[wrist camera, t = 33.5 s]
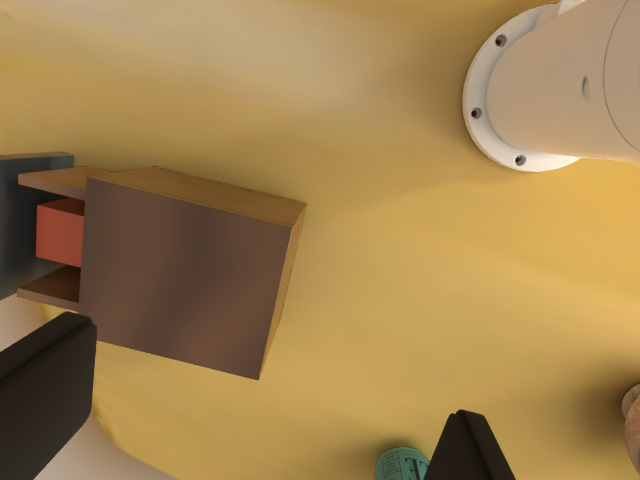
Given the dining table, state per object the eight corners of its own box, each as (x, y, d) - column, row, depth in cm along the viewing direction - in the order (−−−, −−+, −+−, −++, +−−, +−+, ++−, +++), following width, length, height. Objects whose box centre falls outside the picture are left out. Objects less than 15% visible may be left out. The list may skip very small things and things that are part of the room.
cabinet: (141, 287, 38) (76, 335, 29) (154, 165, 35) (85, 176, 26) (279, 321, 38) (258, 380, 29) (307, 203, 35) (292, 228, 26)
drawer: (9, 253, 37) (-76, 283, 30) (9, 138, 34) (-86, 139, 27) (188, 298, 37) (148, 339, 30) (204, 187, 34) (165, 201, 27)
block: (76, 195, 34) (36, 204, 30) (123, 207, 34) (91, 218, 30) (73, 241, 35) (35, 256, 31) (119, 253, 35) (88, 269, 31)
